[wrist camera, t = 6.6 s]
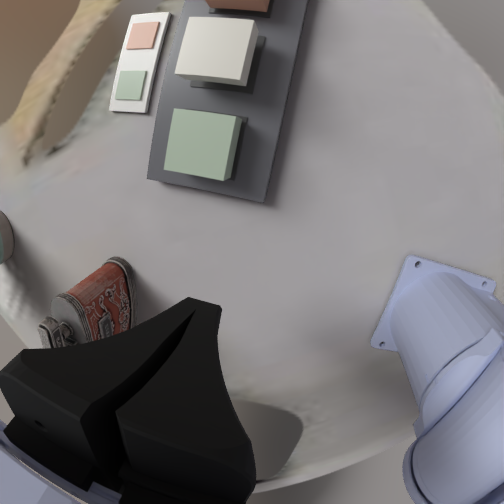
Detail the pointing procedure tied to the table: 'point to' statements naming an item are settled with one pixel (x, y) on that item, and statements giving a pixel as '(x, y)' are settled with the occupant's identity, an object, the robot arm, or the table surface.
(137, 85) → the card
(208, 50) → the key ivory
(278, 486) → the table surface
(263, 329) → the table surface
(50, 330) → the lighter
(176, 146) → the key sage
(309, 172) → the table surface
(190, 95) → the dark grey base plate
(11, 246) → the coffee cup
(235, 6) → the key terracotta
